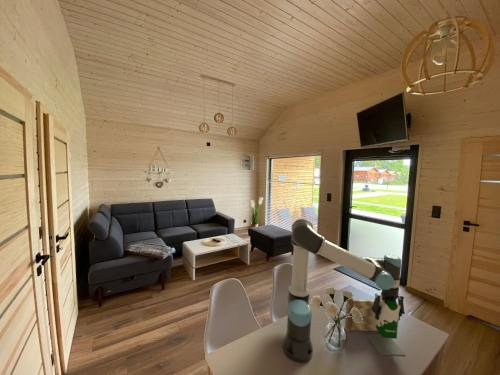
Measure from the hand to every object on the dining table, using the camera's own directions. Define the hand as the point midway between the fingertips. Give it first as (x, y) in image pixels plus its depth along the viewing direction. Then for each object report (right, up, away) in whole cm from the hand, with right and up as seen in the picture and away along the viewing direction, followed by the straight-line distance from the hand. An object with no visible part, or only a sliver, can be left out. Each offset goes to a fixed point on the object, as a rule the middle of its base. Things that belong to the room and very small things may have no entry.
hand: (386, 325), depth 114 cm
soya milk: (0, -5, 0) cm, 5 cm away
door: (-5, -10, +10) cm, 15 cm away
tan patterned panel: (-4, -10, +11) cm, 16 cm away
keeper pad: (0, -11, +1) cm, 11 cm away
